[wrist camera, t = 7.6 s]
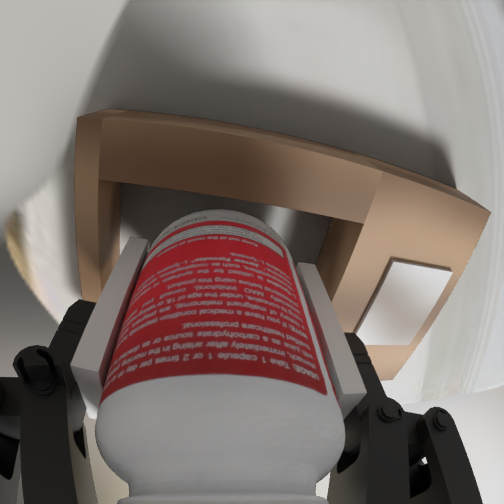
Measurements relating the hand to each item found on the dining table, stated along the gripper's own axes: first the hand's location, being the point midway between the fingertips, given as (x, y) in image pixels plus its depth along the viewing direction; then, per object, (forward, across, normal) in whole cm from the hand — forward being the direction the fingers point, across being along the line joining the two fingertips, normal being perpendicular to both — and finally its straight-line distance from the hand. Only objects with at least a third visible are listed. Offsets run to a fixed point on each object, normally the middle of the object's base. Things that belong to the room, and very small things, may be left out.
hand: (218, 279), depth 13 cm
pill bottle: (+1, 0, 0) cm, 1 cm away
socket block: (+3, +3, 0) cm, 4 cm away
